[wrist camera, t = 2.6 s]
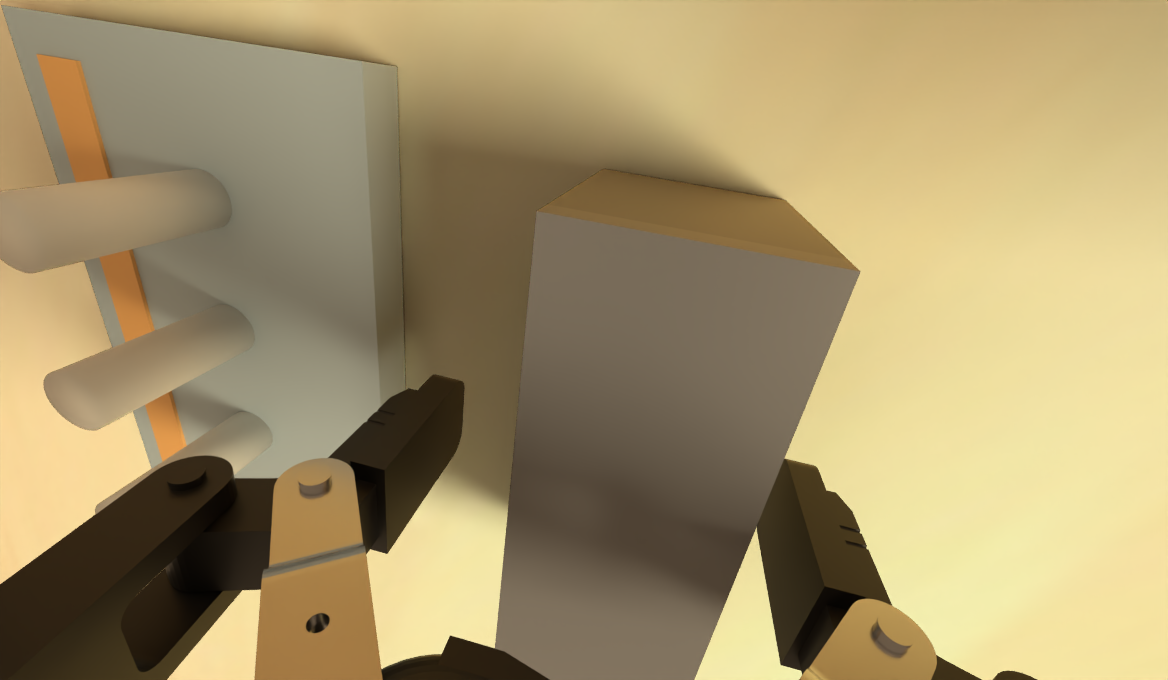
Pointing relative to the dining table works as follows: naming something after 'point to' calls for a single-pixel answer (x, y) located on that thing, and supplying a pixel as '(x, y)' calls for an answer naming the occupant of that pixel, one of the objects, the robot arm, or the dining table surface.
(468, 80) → the dining table surface
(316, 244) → the board
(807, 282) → the block
